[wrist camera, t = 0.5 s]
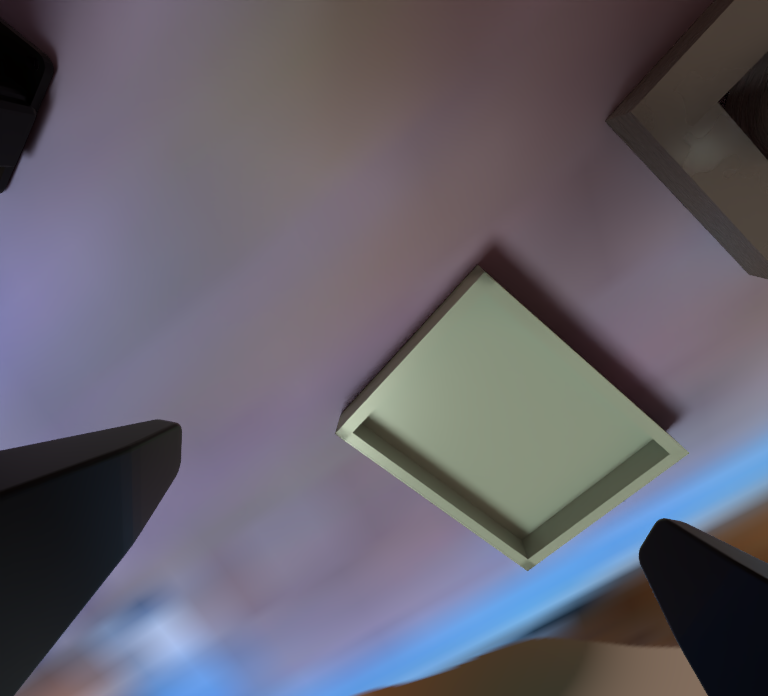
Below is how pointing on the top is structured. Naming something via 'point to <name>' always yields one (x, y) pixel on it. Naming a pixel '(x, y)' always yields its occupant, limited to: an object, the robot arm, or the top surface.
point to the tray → (505, 425)
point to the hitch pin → (752, 104)
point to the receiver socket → (706, 128)
